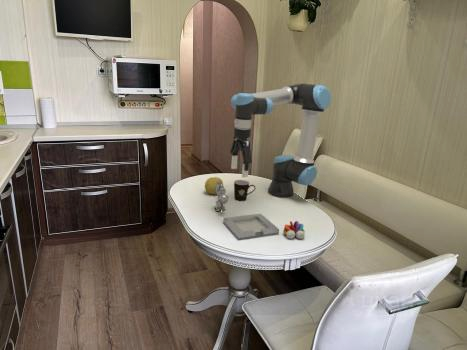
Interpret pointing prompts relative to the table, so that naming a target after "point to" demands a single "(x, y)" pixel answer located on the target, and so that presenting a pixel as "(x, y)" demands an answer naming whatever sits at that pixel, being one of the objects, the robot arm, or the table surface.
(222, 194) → the robot toy
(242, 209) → the table surface
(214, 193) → the fruit
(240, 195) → the coffee mug
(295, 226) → the colorful rounded-lobe toy
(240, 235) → the plate
